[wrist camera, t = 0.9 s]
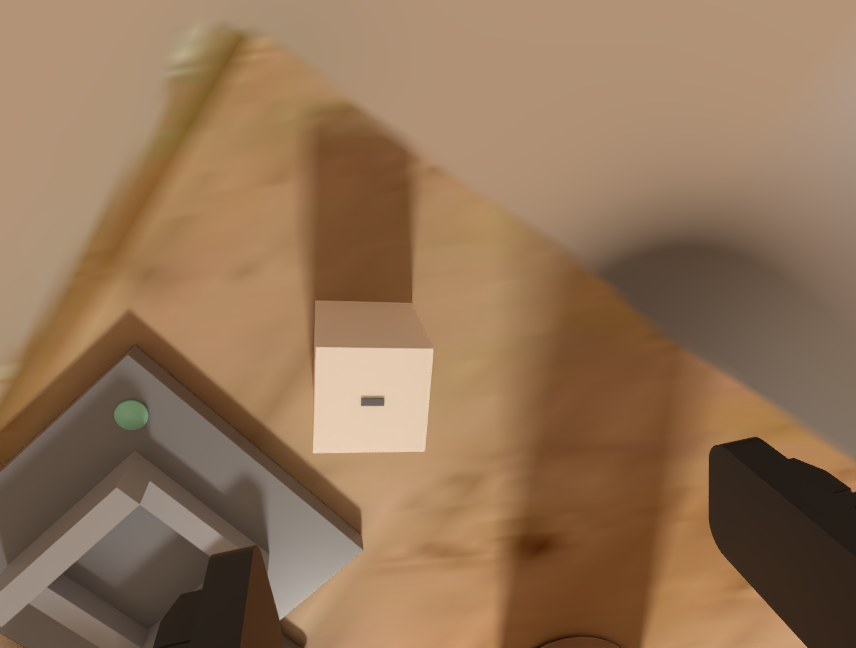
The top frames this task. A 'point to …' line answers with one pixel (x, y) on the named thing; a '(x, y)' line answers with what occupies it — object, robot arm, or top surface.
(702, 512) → the top surface
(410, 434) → the charger block
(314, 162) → the top surface
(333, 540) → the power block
